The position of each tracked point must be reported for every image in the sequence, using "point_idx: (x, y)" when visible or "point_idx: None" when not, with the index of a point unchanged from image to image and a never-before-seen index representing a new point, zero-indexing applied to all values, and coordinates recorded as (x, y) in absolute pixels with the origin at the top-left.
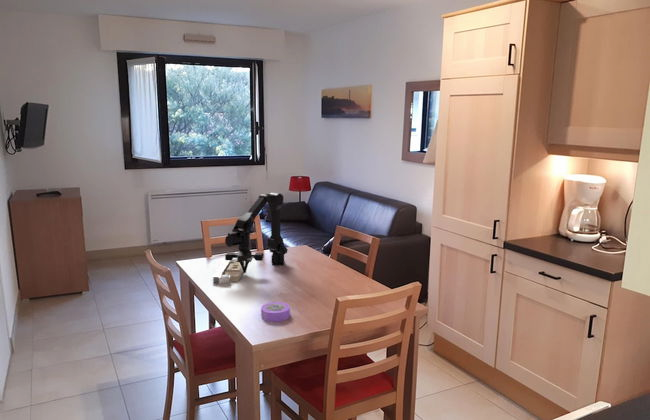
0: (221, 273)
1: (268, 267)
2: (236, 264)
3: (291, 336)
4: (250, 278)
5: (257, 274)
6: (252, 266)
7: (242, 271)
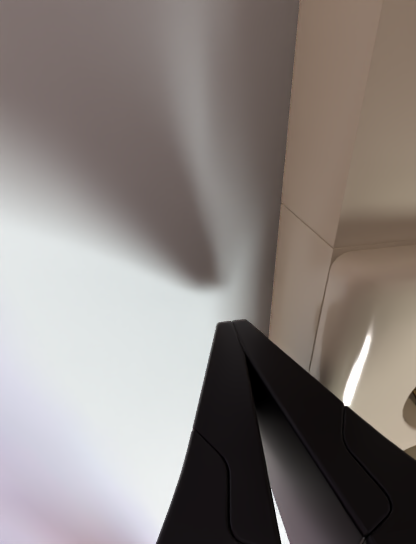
0: None
1: (11, 536)
2: None
3: None
4: (40, 108)
5: (16, 351)
6: None
7: None
